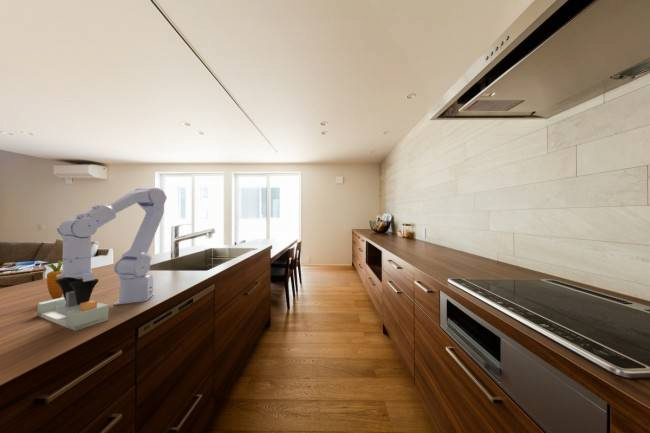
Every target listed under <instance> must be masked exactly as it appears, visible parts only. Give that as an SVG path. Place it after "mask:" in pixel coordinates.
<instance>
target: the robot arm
mask: <svg viewBox="0 0 650 433" xmlns="http://www.w3.org/2000/svg"><path fill="white" fill-rule="evenodd" d="M167 198H168V197H167V195H166V193H165V191H164V190H163V189H162V188H160V187H146V188H145V187H144V188H142V187H139V188H136V189H134V190H133V189H132V190H129V192H128V193H126V194H125V195H123V196H122V197H120V198H118V199H116V200H115V201H113V202H111V203H110V204H108V205H106V204H98V205H97V204H95V205H94V206H91V209H89V210H88V211H86V212H84V213H78V214H77V215H76V217H75V218H69V219H66V220H64V221H62V222H61V223H60V225H59V227H57V228H56V231H57V234H59V236H61V238H62V240H61V241H62V263H63V264H62V270H63V271H62V274H58V275H56V277H58V278H61V277H64V278H63V279H57V280H55V281H56V282H57V284H58V285H59V286H60V288H61V290H62V292H63V294H62V296H63V297H64V298H65V301H66V293H67V292H71V291H74V293H75V297H76V302H77V304H78V305H80V303H83V302H87V301H89V300H90V299H91V296H92V292H93V290H94V288H95V286H96V285H97V284H98V282H99V278H95V277H94V273H93V270H92V236H93V235H95V234H96V233H97V230H98V229H99V228H101V227H102V226H104V225H106V224H108V223H109V222H111V221H113V220H114V219H115V218H116V216H117V213H120V212H121V211H124V210H125V209H127V208H129V207H131V206H134V205H135V204H137V205H138V206H139V207H140V208H141V209H142V210H143V211H144V212H145V215H144V217H143V219H142V222H141V224H140V226H139V229H138V231H137V233H136V235H135V237H134V238H133V241H132V244H131V246H130V248H129V250H127V251H125V252H124V253H122V255H121V257H120V259H119V260H118V261H117V262H116V263H115V264H114V267H113V270H114V273H115V274H117V275H118V278H119V279H118V280H119V288H118V289H119V291H118V292H119V295H118V296H119V300H117V301H115V302H114V303H113V305H114V306H116V305H118V306H119V305H124V304H133V303H141V302H147V301H148V300H149V299H150V298H151V297H152V296H154V278H153V275H151V274H150V275H149V274H148V272H149V271H150V270H151V260H152V256H151V255H150V254H149V250H150V249H151V248H150V247H151V245H152V243H153V240H154V237H155V235H156V233H157V230H158V228H159V226H160V223H161V220H162V218H163V216H164V213H165V203H166V201H167Z"/></svg>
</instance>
